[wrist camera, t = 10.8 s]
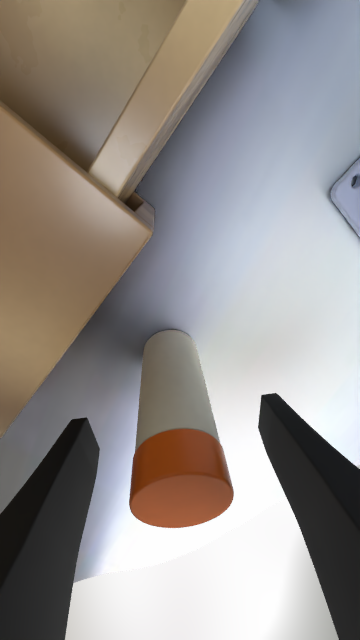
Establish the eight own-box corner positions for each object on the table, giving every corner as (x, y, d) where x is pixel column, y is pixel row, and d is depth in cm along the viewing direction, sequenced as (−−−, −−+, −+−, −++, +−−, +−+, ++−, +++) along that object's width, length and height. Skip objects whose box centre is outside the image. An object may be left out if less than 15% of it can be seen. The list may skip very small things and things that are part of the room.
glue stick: (138, 332, 14) (118, 482, 7) (195, 325, 14) (235, 466, 7) (147, 376, 15) (139, 534, 8) (198, 369, 15) (233, 521, 8)
